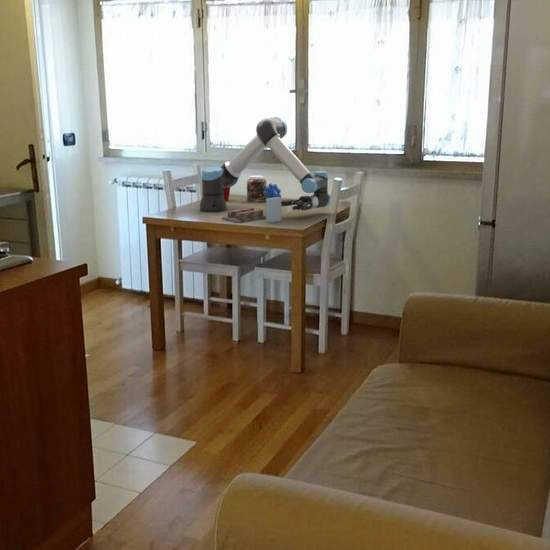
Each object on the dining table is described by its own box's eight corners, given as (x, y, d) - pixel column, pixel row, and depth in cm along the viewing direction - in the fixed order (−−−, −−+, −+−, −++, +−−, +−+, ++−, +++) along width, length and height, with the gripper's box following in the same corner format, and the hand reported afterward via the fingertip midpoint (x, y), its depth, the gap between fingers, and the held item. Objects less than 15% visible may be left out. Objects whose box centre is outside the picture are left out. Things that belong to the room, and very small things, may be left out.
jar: (249, 199, 436) (249, 174, 432) (268, 199, 434) (268, 175, 430) (245, 202, 425) (244, 177, 421) (264, 203, 423) (263, 177, 419)
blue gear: (267, 205, 415) (267, 184, 412) (262, 203, 421) (261, 183, 418) (284, 203, 421) (284, 183, 418) (279, 201, 426) (278, 181, 423)
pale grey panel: (269, 222, 363) (269, 199, 360) (266, 222, 365) (266, 198, 362) (281, 220, 368) (281, 197, 365) (278, 220, 370) (277, 197, 367)
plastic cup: (230, 202, 426) (229, 182, 423) (212, 201, 428) (212, 181, 425) (234, 199, 436) (234, 179, 433) (217, 199, 438) (217, 179, 435)
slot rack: (238, 222, 363) (238, 214, 362) (222, 219, 373) (222, 211, 372) (268, 217, 376) (268, 210, 375) (251, 214, 386) (251, 206, 385)
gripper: (324, 212, 372) (295, 217, 358) (291, 206, 390) (262, 211, 376) (324, 198, 370) (295, 202, 356) (291, 192, 388) (262, 197, 374)
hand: (278, 207), depth 366 cm, fingers open, 13 cm apart
